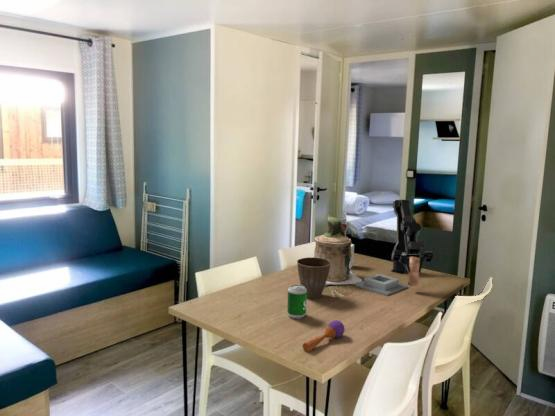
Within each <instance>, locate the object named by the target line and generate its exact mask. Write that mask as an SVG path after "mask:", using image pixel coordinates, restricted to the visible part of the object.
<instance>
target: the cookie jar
mask: <svg viewBox="0 0 555 416" xmlns="http://www.w3.org/2000/svg"><path fill="white" fill-rule="evenodd" d="M326 219H327V226H328V227H327V228H328V231H327V232H324V234H322V235H316V236H315V237H314V239H313V240H314V242H315V246H314V251H313V258H322V259H326V260H328V261H330V263H331V264H330V270H329V274H328V278H327V281H326V284H325V286H328V285H330V286H331V285H332V286H339V285H340V286H343V285H355V284H357V283H360V282H363V279H362V278H360V277H359V276H357V275H356V274H355V273H353V272H352V271H351V269H349V263H350V260H351V257H352V255H351V244H353V242H352V239H351V238H349V237H348V236H346V234H345V232H344V231H347V227H348V224H347V223H345V222H342V221H341V219H340V218H338V217H333V216H331V215H327V218H326Z"/></svg>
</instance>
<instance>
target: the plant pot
mask: <svg viewBox="0 0 555 416" xmlns="http://www.w3.org/2000/svg"><path fill="white" fill-rule="evenodd" d="M296 263H297V272H298V278H299V283H300V284H299V285H302V286H304V287H305V288H306V289H307V298H306V299H311V300H316V299H320V298H321V296H322V294H323V292H324V289H325V287H326V285H325V284H326V281H327V278H328V274H329V270H330V264H331V263H330V261H328V260H326V259H322V258H314V257H302V258H300V259H297V260H296Z"/></svg>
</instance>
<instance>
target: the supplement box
mask: <svg viewBox="0 0 555 416" xmlns="http://www.w3.org/2000/svg"><path fill="white" fill-rule="evenodd" d="M354 252H355V244H353V243H352V244H351V255H352V257H351V260H350V263H349V269H350V270H351V268H353V267H354V254H355V253H354Z"/></svg>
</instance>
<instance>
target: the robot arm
mask: <svg viewBox="0 0 555 416" xmlns="http://www.w3.org/2000/svg"><path fill="white" fill-rule="evenodd" d="M392 209H393V212H394V214H395V216H396V243H395V245H394V247H393V250H392V253H391V261H392V262H393V265H392V266H393V267H392V269H391V272H394V273H398V274H404V273H409V272H410V267H409V262H410V257H419V258H420V264H419V274H420V273H421V271H422V266H423V264H425V263H432V262H433V260H434V258H435V253H434V251H427V250H425V251H424V253H420V252H421V250H422V249H424V248H426V247H425V246H426V245H425V241H424V240H420V241H418V238H417V237H419V235H420V231H421V229H422V225H420V223H419V222H417V219H416V218H414V217H413V215H412V212H411V201H410V200H409V199H394V200H393V202H392Z"/></svg>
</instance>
